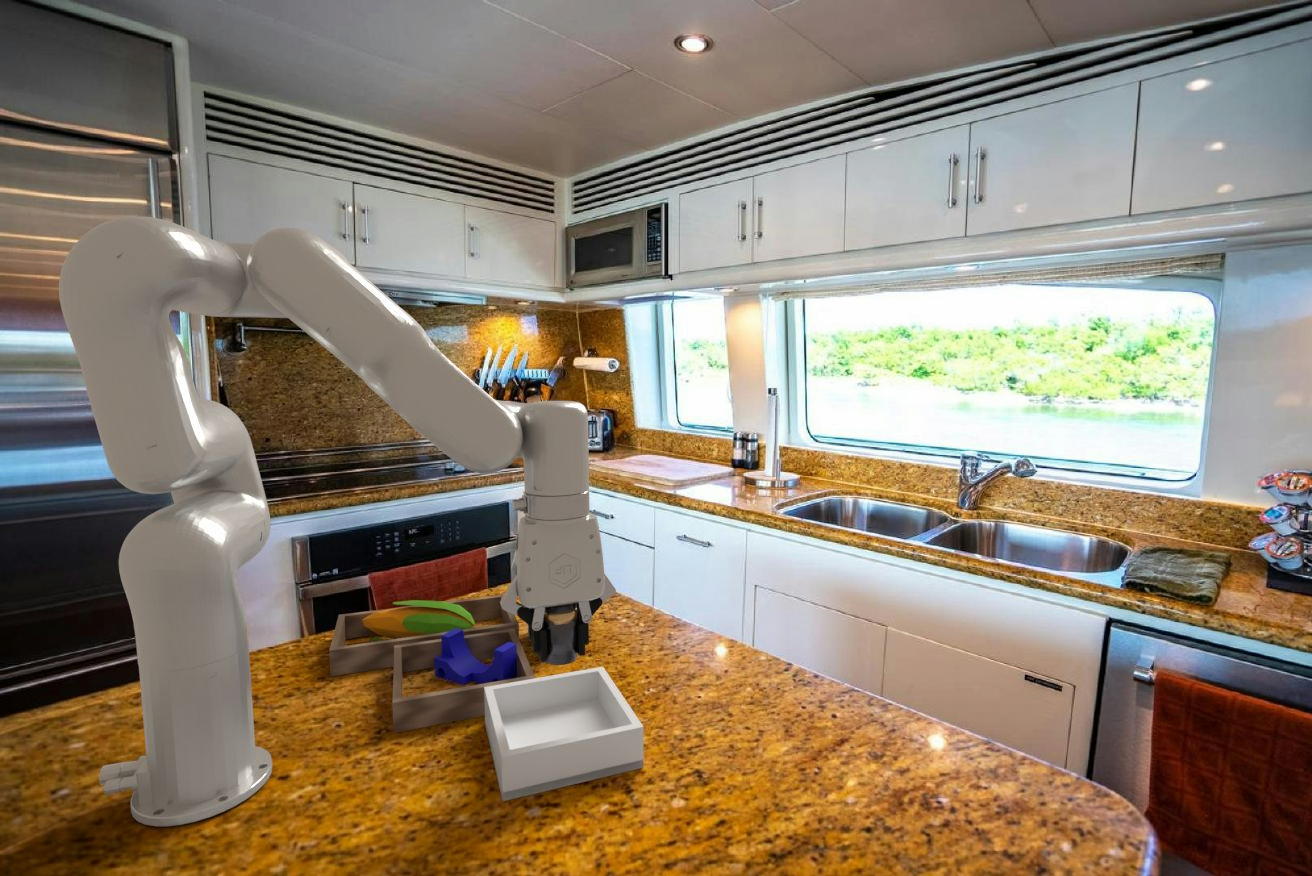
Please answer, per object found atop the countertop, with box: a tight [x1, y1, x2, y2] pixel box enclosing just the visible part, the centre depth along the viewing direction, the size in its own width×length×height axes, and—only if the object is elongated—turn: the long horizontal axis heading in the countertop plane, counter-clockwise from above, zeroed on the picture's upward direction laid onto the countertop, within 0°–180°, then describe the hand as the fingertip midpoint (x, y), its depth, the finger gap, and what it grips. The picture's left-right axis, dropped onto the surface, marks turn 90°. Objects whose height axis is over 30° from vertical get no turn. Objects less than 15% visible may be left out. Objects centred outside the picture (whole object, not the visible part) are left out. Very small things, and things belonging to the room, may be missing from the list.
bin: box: [484, 666, 645, 802], centre depth 77 cm, size 16×16×5 cm
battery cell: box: [543, 603, 578, 666], centre depth 76 cm, size 4×4×8 cm
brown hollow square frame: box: [392, 629, 536, 734], centre depth 91 cm, size 18×18×4 cm
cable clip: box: [434, 628, 517, 687], centre depth 94 cm, size 12×4×6 cm, turn 62°
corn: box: [362, 599, 476, 642], centre depth 106 cm, size 7×8×20 cm
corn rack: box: [328, 594, 520, 677], centre depth 107 cm, size 28×15×4 cm, turn 112°
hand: (560, 652), depth 77 cm, fingers closed on battery cell, 4 cm apart
